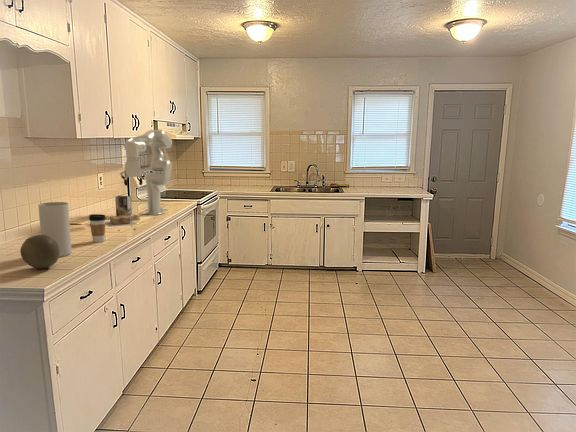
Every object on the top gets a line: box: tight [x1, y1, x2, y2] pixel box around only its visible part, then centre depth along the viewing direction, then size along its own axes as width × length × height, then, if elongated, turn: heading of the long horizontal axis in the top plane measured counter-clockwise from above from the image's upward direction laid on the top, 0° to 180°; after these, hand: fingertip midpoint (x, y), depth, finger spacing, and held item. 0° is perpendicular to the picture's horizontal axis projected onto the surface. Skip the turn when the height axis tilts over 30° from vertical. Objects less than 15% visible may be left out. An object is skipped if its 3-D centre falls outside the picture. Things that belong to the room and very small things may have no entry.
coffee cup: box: [88, 213, 107, 244], centre depth 231 cm, size 8×8×15 cm
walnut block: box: [109, 215, 131, 225], centre depth 275 cm, size 10×10×4 cm
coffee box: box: [114, 195, 133, 217], centre depth 298 cm, size 9×6×16 cm
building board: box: [105, 219, 137, 228], centre depth 275 cm, size 17×17×2 cm
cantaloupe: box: [19, 234, 60, 270], centre depth 180 cm, size 14×14×15 cm
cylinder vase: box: [37, 201, 72, 258], centre depth 202 cm, size 12×12×25 cm
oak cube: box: [130, 213, 141, 221], centre depth 289 cm, size 5×5×5 cm
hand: (133, 185), depth 284 cm, fingers open, 9 cm apart
